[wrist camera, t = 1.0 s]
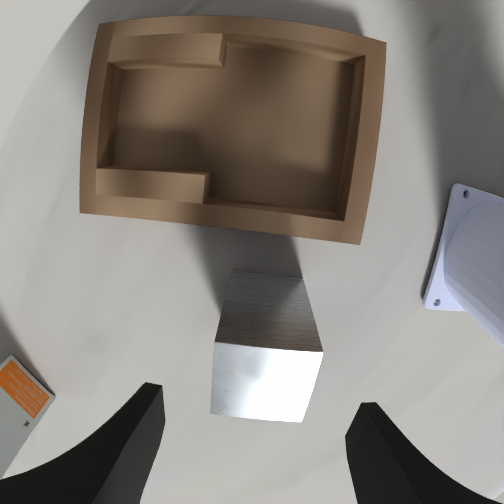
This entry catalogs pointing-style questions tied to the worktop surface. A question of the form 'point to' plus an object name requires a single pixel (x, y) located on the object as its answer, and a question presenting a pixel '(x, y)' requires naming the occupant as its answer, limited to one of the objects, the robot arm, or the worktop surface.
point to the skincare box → (19, 409)
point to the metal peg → (265, 349)
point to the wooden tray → (233, 124)
